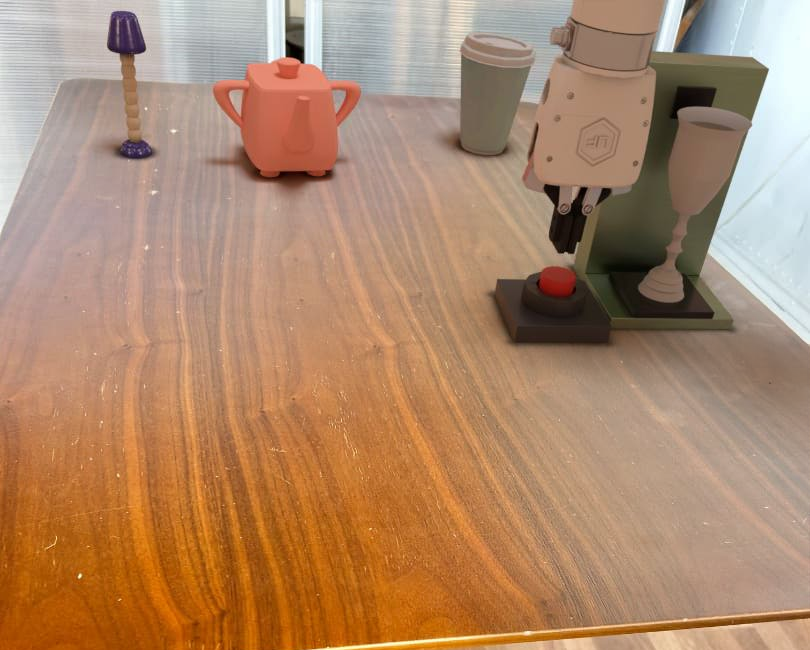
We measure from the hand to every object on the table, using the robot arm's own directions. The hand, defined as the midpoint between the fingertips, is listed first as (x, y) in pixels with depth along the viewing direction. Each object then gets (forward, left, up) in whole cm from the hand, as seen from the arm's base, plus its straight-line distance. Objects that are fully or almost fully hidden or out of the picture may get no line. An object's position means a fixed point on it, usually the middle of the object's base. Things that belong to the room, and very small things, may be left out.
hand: (562, 247), depth 89 cm
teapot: (+26, -40, -8) cm, 48 cm away
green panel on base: (-13, -5, -8) cm, 16 cm away
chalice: (-13, -2, -6) cm, 15 cm away
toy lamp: (+46, -43, -8) cm, 63 cm away
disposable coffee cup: (-3, -50, -8) cm, 51 cm away
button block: (0, 0, -8) cm, 8 cm away
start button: (0, 0, -5) cm, 5 cm away
